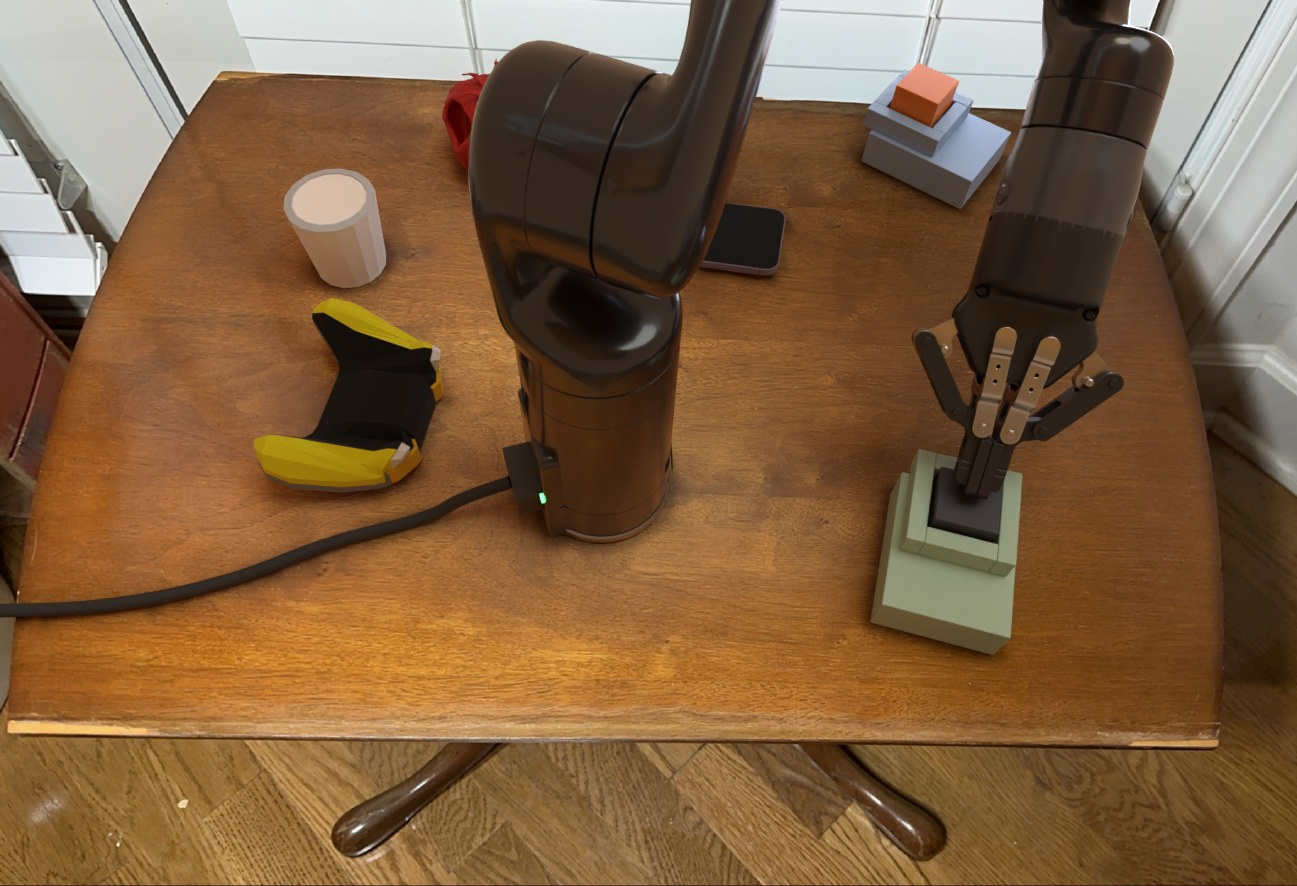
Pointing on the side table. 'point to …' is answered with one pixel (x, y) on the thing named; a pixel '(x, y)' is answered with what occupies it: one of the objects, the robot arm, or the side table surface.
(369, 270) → the pale pink cylinder
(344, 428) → the gaming controller
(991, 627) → the green stepped block
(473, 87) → the pomegranate
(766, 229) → the smartphone
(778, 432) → the side table surface
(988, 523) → the charcoal key
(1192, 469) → the side table surface
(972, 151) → the blue-grey socket block
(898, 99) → the orange key
